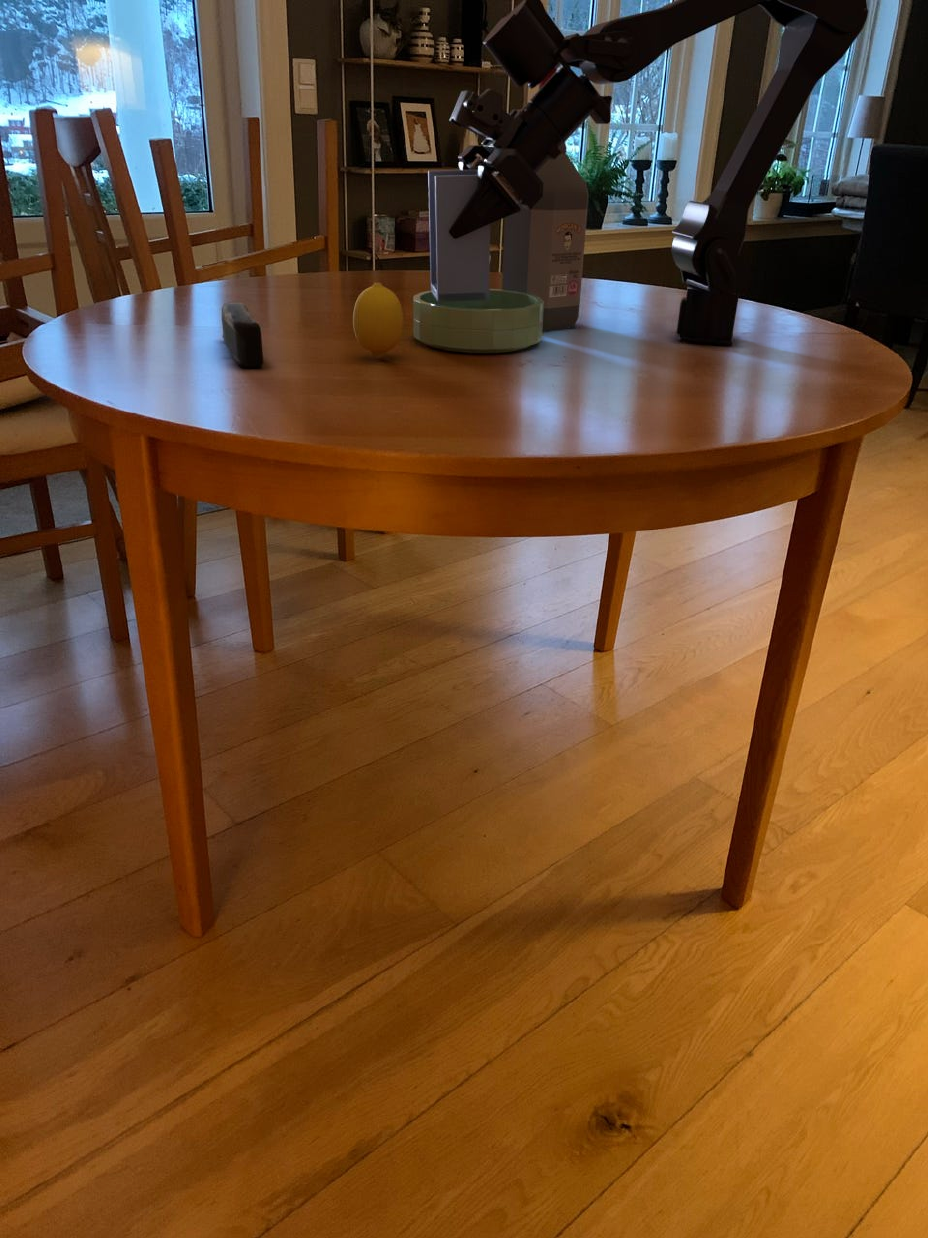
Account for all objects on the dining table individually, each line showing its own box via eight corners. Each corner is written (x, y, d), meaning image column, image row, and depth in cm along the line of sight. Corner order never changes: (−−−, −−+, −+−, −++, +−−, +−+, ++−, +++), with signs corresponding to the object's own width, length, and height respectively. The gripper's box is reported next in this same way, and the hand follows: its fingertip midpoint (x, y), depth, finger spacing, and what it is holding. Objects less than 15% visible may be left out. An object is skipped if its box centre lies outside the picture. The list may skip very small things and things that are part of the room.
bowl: (551, 334, 115) (554, 293, 112) (526, 359, 101) (528, 314, 99) (435, 324, 118) (435, 284, 116) (395, 348, 105) (395, 303, 103)
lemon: (384, 365, 97) (382, 288, 93) (344, 358, 100) (341, 282, 96) (413, 356, 101) (413, 282, 98) (374, 350, 104) (372, 277, 100)
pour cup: (480, 289, 108) (480, 169, 101) (489, 300, 103) (490, 174, 96) (430, 291, 107) (428, 170, 100) (437, 302, 102) (435, 176, 95)
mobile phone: (265, 321, 93) (238, 294, 105) (235, 323, 92) (212, 295, 103) (268, 370, 95) (242, 338, 107) (239, 372, 94) (216, 339, 106)
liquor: (587, 326, 120) (610, 62, 105) (533, 332, 115) (550, 57, 101) (544, 315, 126) (560, 65, 112) (492, 320, 122) (501, 61, 107)
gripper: (478, 65, 103) (384, 171, 106) (519, 54, 87) (407, 180, 90) (539, 144, 108) (448, 243, 111) (589, 148, 92) (481, 263, 95)
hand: (445, 232), depth 102 cm, fingers closed on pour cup, 7 cm apart
